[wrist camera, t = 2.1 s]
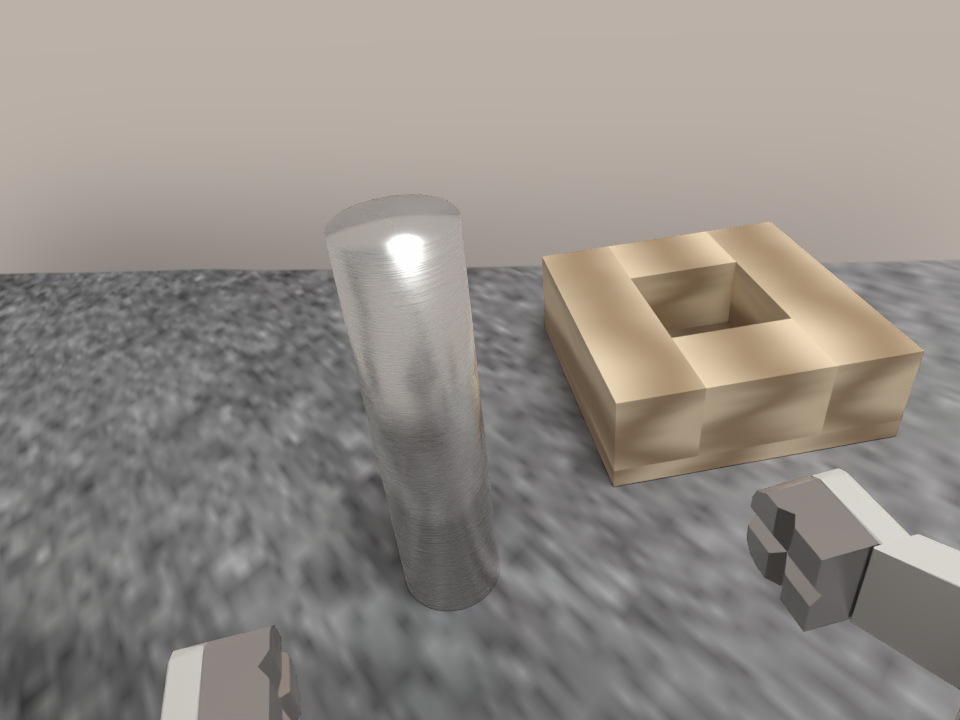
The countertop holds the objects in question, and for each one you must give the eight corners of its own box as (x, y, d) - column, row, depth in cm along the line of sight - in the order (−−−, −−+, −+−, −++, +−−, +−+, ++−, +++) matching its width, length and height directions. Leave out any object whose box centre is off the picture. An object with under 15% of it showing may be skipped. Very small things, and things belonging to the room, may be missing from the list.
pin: (409, 619, 28) (322, 263, 19) (402, 541, 32) (325, 205, 22) (507, 600, 29) (469, 241, 19) (490, 525, 32) (451, 187, 23)
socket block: (613, 486, 33) (616, 403, 30) (544, 328, 45) (542, 256, 42) (895, 435, 34) (924, 351, 31) (758, 293, 46) (770, 221, 43)
